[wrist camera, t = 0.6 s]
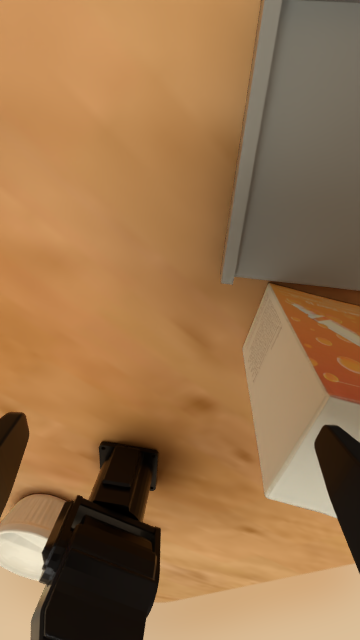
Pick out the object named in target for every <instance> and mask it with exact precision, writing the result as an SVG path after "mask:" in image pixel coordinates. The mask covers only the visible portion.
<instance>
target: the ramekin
mask: <svg viewBox="0 0 360 640" xmlns="http://www.w3.org/2000/svg"><path fill="white" fill-rule="evenodd" d="M65 502H66V501H65V500H63V499H60V498H58V497H55V496H51V495H47V494H33V495H29V496H27V497H25V498H23V499H21V500H20V501H18V502H17V503H16V504H15V505H14V507H13V508H12V509H11V510H10V512H9V513H8V514H7V515H6V517H5V518H4V519H3V520H2V521H1V523H0V566H2V567H3V568H5V569H7V570H9V571H11V572H12V573H15V574H17V575H20V576H22V577H26V578H29V579H32V580H36V581H39V579H40V576H41V574H42V571H43V570H42V566H43V564H44V562H43V558H42V551H43V549H44V546H45V544H46V542H47V540H48V537H49V535H50V533H51V531H52V528H53V526H54V524H55V522H56V520H57V518H58V516H59V513H60V511H61V509H62V507H63V505H64V503H65Z"/></svg>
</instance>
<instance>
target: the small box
mask: <svg viewBox="0 0 360 640" xmlns="http://www.w3.org/2000/svg"><path fill="white" fill-rule="evenodd" d="M243 357H244V364H245V370H246V377H247V383H248V389H249V395H250V401H251V407H252V414H253V421H254V427H255V434H256V440H257V446H258V452H259V459H260V466H261V472H262V479H263V487H264V494H265V497H266V498H268V499H272V500H276V501H279V502H283V503H286V504H290V505H294V506H297V507H301V508H305V509H309V510H312V511H316V512H320V513H323V514H326V515H329V516H332V517H335V518H337V516H336V514H335V511H334V509H333V506H332V503H331V501H330V498H329V495H328V492H327V489H326V485H325V482H324V479H323V475H322V472H321V469H320V465H319V462H318V459H317V455H316V452H315V448H314V442H315V439H316V437H317V435H318V434H319V432H320V430H321V428H322V426H324V425H337V426H339V427H341V428H342V429H343V430H344V431H346V432H347V433H348V434H349V435H351V436H352V437H353V438H355V439H356V440H357V441H358V442H360V306H357V305H353V304H349V303H344V302H340V301H336V300H332V299H329V298H325V297H320V296H317V295H313V294H309V293H305V292H302V291H298V290H294V289H290V288H287V287H283V286H280V285H276V284H273V283H268V285H267V288H266V290H265V293H264V295H263V298H262V300H261V303H260V305H259V308H258V310H257V313H256V315H255V318H254V320H253V323H252V325H251V328H250V330H249V333H248V335H247V338H246V340H245V343H244V345H243Z"/></svg>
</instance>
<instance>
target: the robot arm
mask: <svg viewBox="0 0 360 640" xmlns="http://www.w3.org/2000/svg"><path fill="white" fill-rule="evenodd" d="M28 439H29V428H28V424H27V419H26V415H25V414H24V413H22V412H9V413H7V414H5V415H4V416H3V417H1V418H0V517H1V515H2V512H3V510H4V508H5V506H6V503H7V501H8V498H9V496H10V493H11V490H12V488H13V485H14V482H15V479H16V476H17V473H18V470H19V466H20V463H21V460H22V457H23V454H24V451H25V448H26V445H27V442H28ZM314 448H315V452H316V455H317V459H318V462H319V465H320V469H321V472H322V475H323V479H324V482H325V485H326V489H327V492H328V495H329V498H330V501H331V503H332V506H333V509H334V511H335V514H336V516H337V519H338V521H339V523H340V526H341V528H342V531H343V533H344V536H345V538H346V541H347V543H348V546H349V548H350V551H351V553H352V556H353V558H354V561H355V563H356V565H357V568H358V571H359V573H360V442H358V441H357V440H356V439H355V438H353V437H352V436H351V435H349V434H348V433H347V432H346V431H344V430H343V429H342V428H341V427H339V426H337V425H324V426H322V428H321V430H320V432H319V434H318V435H317V437H316V439H315V442H314ZM99 455H100V472H99V475H98V477H97V480H96V482H95V485H94V487H93V490H92V492H91V495H90V497H89V500H86V499H84V498H83V497H82V496H80V495H77V497H76V499H75V500H74V501H70V502H65V503H64V505H63V507H62V509H61V511H60V513H59V516H58V518H57V520H56V522H55V524H54V526H53V528H52V531H51V533H50V535H49V537H48V540H47V542H46V544H45V546H44V549H43V551H42V558H43V562H44V564H43V566H42V570H43V571H42V574H41V576H40V579H39V582H40V583H43V584H46V586H45V588H44V590H43V593H42V595H41V598H40V600H39V602H38V605H37V607H36V610H35V612H34V614H33V617H32V620H31V640H143V636H144V628H145V622H146V618H147V616H148V615H149V613H150V611H151V608H152V606H153V603H154V600H155V596H156V593H157V588H158V583H159V574H160V536H161V529H160V528H158V527H156V526H155V527H153V526H150V525H148V524H145V523H143V518H144V513H145V508H146V504H147V499H148V494H149V490H150V491H154V490H155V489H156V480H157V466H158V452H157V451H156V450H152V449H146V448H139V447H133V446H126V445H120V444H113V443H107V442H102V443H101V444H100V446H99Z"/></svg>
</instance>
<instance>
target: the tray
mask: <svg viewBox="0 0 360 640" xmlns="http://www.w3.org/2000/svg"><path fill="white" fill-rule="evenodd" d="M220 274H221V283H223V284H232V285H233V281H234V277H242V278H251V279H260V280H269V281H278V282H287V283H296V284H305V285H314V286H323V287H332V288H341V289H350V290H359V291H360V0H261V6H260V12H259V19H258V26H257V32H256V39H255V46H254V52H253V59H252V66H251V72H250V79H249V86H248V92H247V99H246V106H245V112H244V119H243V126H242V132H241V139H240V146H239V152H238V159H237V166H236V172H235V179H234V186H233V192H232V199H231V205H230V212H229V219H228V225H227V232H226V239H225V245H224V252H223V259H222V265H221V272H220Z"/></svg>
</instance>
